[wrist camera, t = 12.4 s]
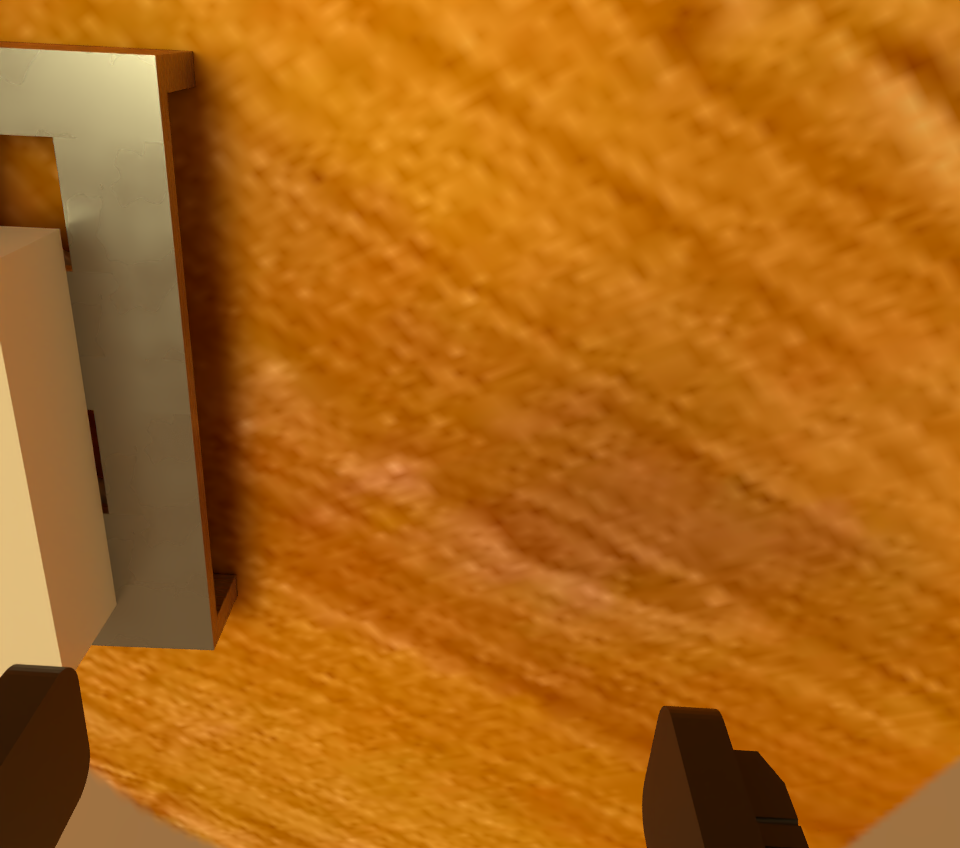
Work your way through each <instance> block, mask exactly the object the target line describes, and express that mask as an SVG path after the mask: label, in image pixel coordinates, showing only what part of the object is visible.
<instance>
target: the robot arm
mask: <svg viewBox="0 0 960 848" xmlns="http://www.w3.org/2000/svg"><path fill="white" fill-rule="evenodd" d="M89 762H90V749H89V742H88V735H87V729H86V723H85V717H84V711H83V705H82V699H81V692H80V686H79V680H78V676H77V673H76V671H75V670H74V669H73V668H71V667H58V666H42V665H26V664H14V665H12V666H10V667H9V668H8V669H7V670H6V671H5V672H4V673H3V675H2V676H1V677H0V848H55V846H56V844H57V842H58V840H59V838H60V836H61V834H62V832H63V831H64V829H65V827H66V825H67V823H68V821H69V819H70V817H71V815H72V813H73V811H74V809H75V807H76V805H77V803H78V801H79V799H80V797H81V795H82V792H83V789H84V786H85V783H86V779H87V775H88V770H89ZM642 813H643V827H644V834H645V840H646V845H647V848H809V847H808V844H807V841H806V839H805V836H804V834H803V831H802V828H801V826H798V818H797V815H796V812H795V810H794V807H793V805H792V802H791V799H790V797H789V794H788V791H787V789H786V786H785V783H784V782H783V781H782V780H781V779H780V777H779V776H778V775H777V774H776V773H775V771H774V770H773V769H772V768H771V767H770V766H769V764H768V763H767V762H766V761H765V760H764V758H763V757H762V756H761V755H760V754H759V753H758V751H742V750H733V748H732V745H731V742H730V739H729V735H728V732H727V729H726V726H725V723H724V720H723V718H722V715H721V713H720V712H719V711H718V710H717V709H707V708H691V707H675V706H663V707H662V708H661V710H660V713H659V716H658V721H657V725H656V730H655V735H654V739H653V744H652V749H651V753H650V758H649V763H648V767H647V772H646V777H645V781H644V788H643V801H642Z"/></svg>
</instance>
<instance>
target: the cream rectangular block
mask: <svg viewBox="0 0 960 848" xmlns="http://www.w3.org/2000/svg"><path fill="white" fill-rule="evenodd" d="M65 265H72V263H71V256H70V253H69V252H68V251H66V250H64V249H63V248H62V241H61V235H60V229H53V228H33V227H13V226H0V677H1V676H2V675H3V673H4V672H5V671H6V670H7V669H8V668H9V667H10V666H12V665H14V664H26V665H42V666H58V667H71V668H73V669H74V670H76V669H77V667H78V665H79V664H80V662H81V661H82V659H83V657H84V656H85V654H86V653H87V651H88V650H89V648H90V646H91V645H92V643H93V642H94V640H95V638H96V637H97V635H98V634H99V632H100V630H101V629H102V627H103V626H104V624H105V623H106V621H107V619H108V618H109V616H110V615H111V613H112V611H113V610H114V608H115V607H116V605H117V603H116V597H115V590H114V584H113V577H112V570H111V564H110V557H109V551H108V544H107V538H106V531H105V524H104V518H103V511H102V505H101V503H104V504H108V503H107V497H106V490H105V483H104V480H103V479H101V478H99V477H97V472H96V465H95V459H94V452H93V445H92V439H91V432H90V426H89V419H88V412H87V406H86V399H85V393H84V386H83V380H82V373H81V366H80V360H79V353H78V347H77V340H76V333H75V327H74V320H73V314H72V307H71V301H70V294H69V287H68V281H67V274H66V268H65Z"/></svg>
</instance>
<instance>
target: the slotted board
mask: <svg viewBox="0 0 960 848" xmlns="http://www.w3.org/2000/svg"><path fill="white" fill-rule="evenodd" d="M191 87H195V75H194V62H193V51H178V50H159V49H139V48H120V47H100V46H81V45H62V44H42V43H23V42H3V41H0V134H2V135H22V136H42V137H53V143H54V149H55V156H56V163H57V169H58V176H59V183H60V190H61V196H62V203H63V210H64V216H65V223H66V230H67V236H68V243H69V250H70V256H71V263H72V265H65V268H66V274H67V281H68V287H69V294H70V301H71V307H72V314H73V320H74V327H75V333H76V340H77V347H78V353H79V360H80V366H81V373H82V380H83V386H84V393H85V399H86V406H87V410H94V417H95V423H96V430H97V437H98V443H99V450H100V457H101V463H102V470H103V477H104V483H105V490H106V497H107V503H108V504H104V503H101V505H102V511H103V518H104V524H105V531H106V538H107V544H108V551H109V557H110V564H111V570H112V577H113V584H114V590H115V597H116V603H117V605H116V607H115V608H114V610H113V611H112V613H111V615H110V616H109V618H108V619H107V621H106V623H105V624H104V626H103V627H102V629H101V630H100V632H99V634H98V635H97V637H96V638H95V640H94V642H93V643H92V645H101V646H125V647H149V648H173V649H197V650H214V649H215V647H216V644H217V642H218V640H219V638H220V635H221V633H222V631H223V628H224V626H225V624H226V621H227V619H228V617H229V614H230V612H231V610H232V607H233V605H234V603H235V600H236V598H237V596H238V595H237V583H236V575H232V574H213V570H212V559H211V549H210V538H209V528H208V517H207V507H206V496H205V486H204V475H203V465H202V454H201V444H200V434H199V423H198V413H197V402H196V392H195V381H194V371H193V360H192V350H191V339H190V329H189V318H188V308H187V298H186V287H185V277H184V266H183V256H182V245H181V235H180V224H179V214H178V203H177V193H176V182H175V172H174V162H173V151H172V141H171V130H170V120H169V109H168V99H167V93H170V92H174V91H178V90H183V89H187V88H191Z"/></svg>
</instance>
